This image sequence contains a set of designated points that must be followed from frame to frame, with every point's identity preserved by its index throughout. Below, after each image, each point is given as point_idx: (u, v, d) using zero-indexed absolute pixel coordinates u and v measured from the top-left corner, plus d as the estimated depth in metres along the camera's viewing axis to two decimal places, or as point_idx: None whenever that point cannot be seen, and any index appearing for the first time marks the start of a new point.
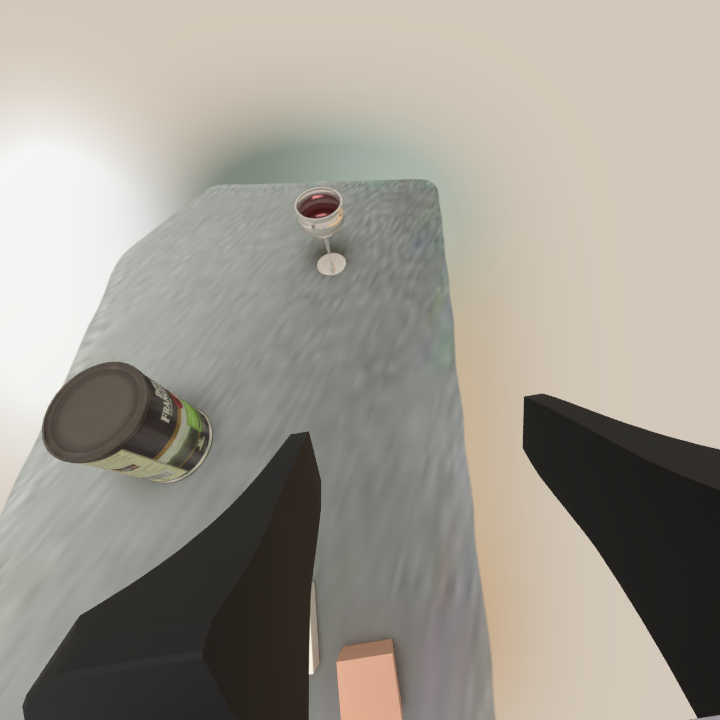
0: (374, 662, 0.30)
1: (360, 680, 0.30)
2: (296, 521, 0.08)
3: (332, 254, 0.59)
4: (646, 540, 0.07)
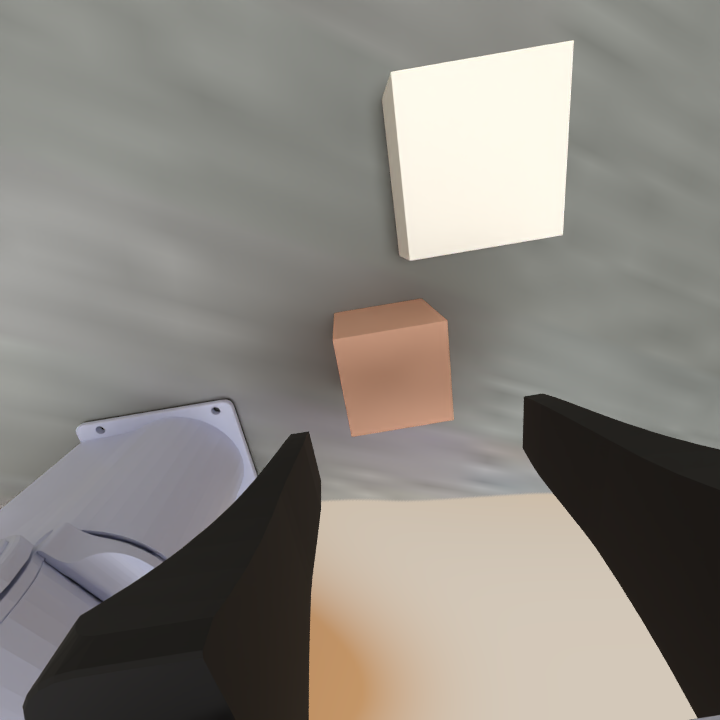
0: (442, 391, 0.16)
1: (418, 366, 0.15)
2: (296, 521, 0.08)
3: None
4: (646, 540, 0.07)
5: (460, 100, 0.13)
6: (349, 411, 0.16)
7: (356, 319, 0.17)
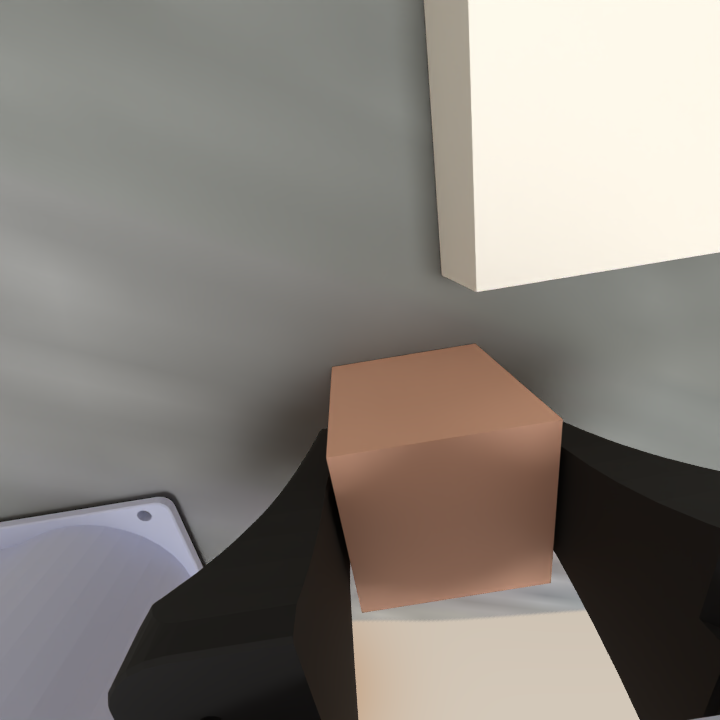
0: (535, 540, 0.08)
1: (494, 501, 0.08)
2: (337, 514, 0.08)
3: None
4: (596, 548, 0.07)
5: None
6: (358, 575, 0.09)
7: (370, 391, 0.10)
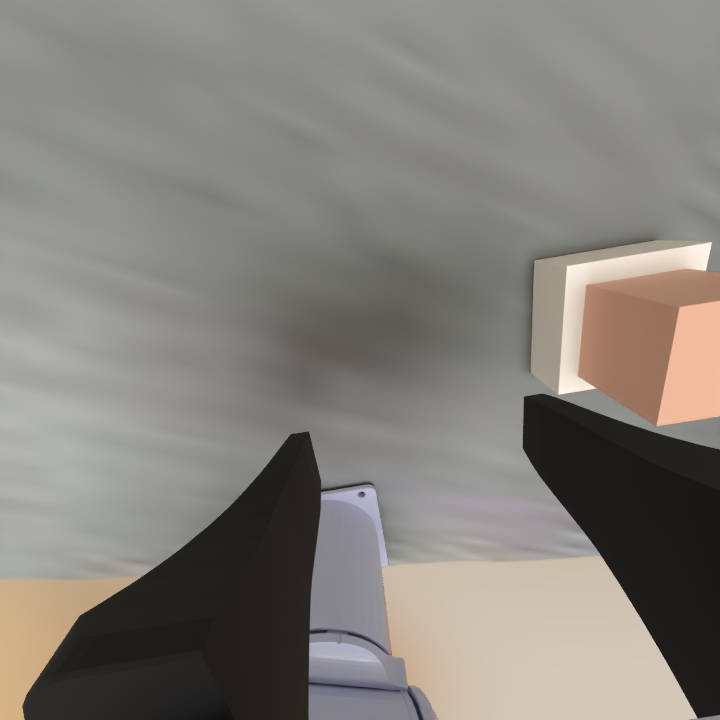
0: None
1: None
2: (296, 521, 0.08)
3: None
4: (646, 540, 0.07)
5: None
6: (665, 395, 0.14)
7: (648, 288, 0.15)
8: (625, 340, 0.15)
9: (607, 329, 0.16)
